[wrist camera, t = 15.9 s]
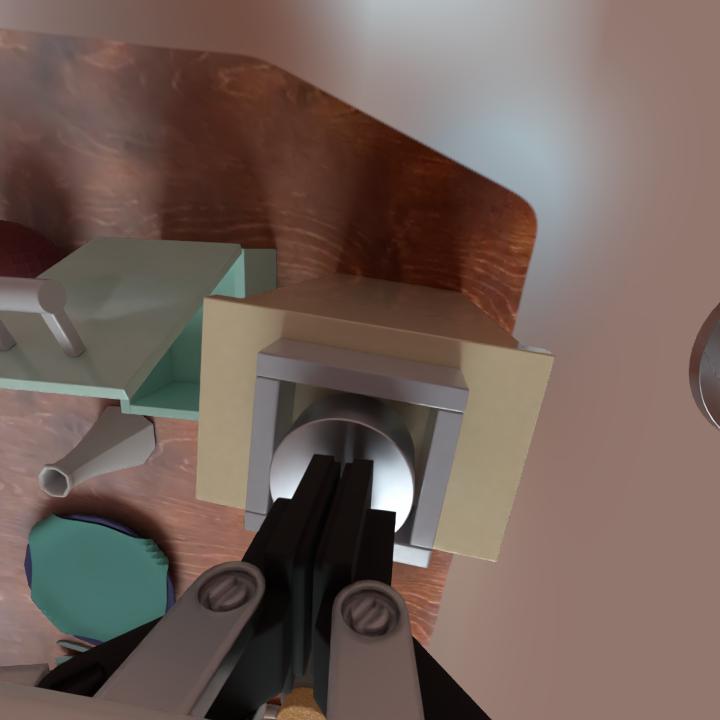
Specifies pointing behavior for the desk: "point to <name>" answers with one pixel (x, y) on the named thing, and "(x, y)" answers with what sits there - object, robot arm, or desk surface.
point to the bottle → (300, 700)
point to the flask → (101, 451)
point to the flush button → (350, 449)
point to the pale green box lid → (104, 314)
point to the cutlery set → (95, 578)
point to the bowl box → (198, 345)
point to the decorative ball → (25, 251)
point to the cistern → (381, 382)
